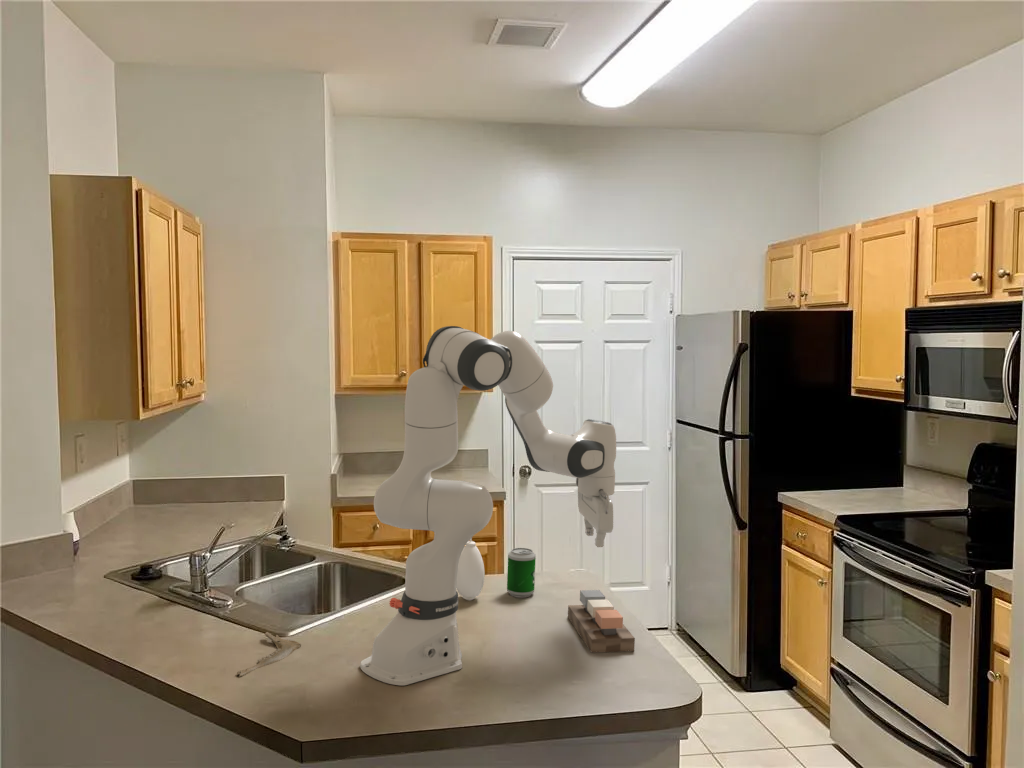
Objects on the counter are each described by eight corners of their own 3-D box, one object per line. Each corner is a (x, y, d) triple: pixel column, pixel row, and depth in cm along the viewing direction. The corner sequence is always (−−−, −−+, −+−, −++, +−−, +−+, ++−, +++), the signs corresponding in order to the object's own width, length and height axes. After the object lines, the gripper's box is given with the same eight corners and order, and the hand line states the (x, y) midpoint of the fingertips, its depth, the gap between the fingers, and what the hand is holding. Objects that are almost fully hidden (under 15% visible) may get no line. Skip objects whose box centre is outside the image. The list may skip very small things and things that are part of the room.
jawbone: (304, 643, 179) (305, 634, 179) (279, 685, 159) (280, 675, 158) (265, 638, 179) (266, 630, 179) (234, 680, 158) (235, 670, 158)
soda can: (531, 600, 210) (533, 555, 209) (504, 597, 212) (505, 553, 211) (536, 591, 217) (538, 548, 217) (509, 588, 219) (511, 545, 218)
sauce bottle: (482, 604, 205) (485, 536, 204) (452, 603, 205) (455, 535, 204) (484, 594, 213) (486, 529, 212) (455, 593, 213) (457, 528, 212)
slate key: (604, 619, 193) (605, 596, 193) (584, 619, 192) (585, 597, 192) (598, 612, 198) (599, 589, 198) (579, 612, 197) (580, 590, 197)
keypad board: (634, 651, 179) (634, 638, 178) (591, 652, 177) (592, 639, 177) (606, 615, 200) (606, 604, 200) (567, 616, 198) (568, 605, 198)
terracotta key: (621, 641, 180) (623, 617, 179) (600, 642, 179) (601, 618, 178) (615, 633, 184) (616, 609, 184) (594, 634, 184) (595, 610, 183)
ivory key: (612, 630, 186) (613, 606, 186) (592, 630, 186) (593, 607, 185) (606, 622, 191) (607, 599, 191) (586, 623, 190) (587, 599, 190)
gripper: (621, 495, 183) (618, 553, 184) (598, 476, 203) (596, 529, 204) (594, 495, 182) (592, 553, 183) (574, 476, 202) (572, 529, 203)
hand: (594, 540), depth 194 cm, fingers open, 8 cm apart
